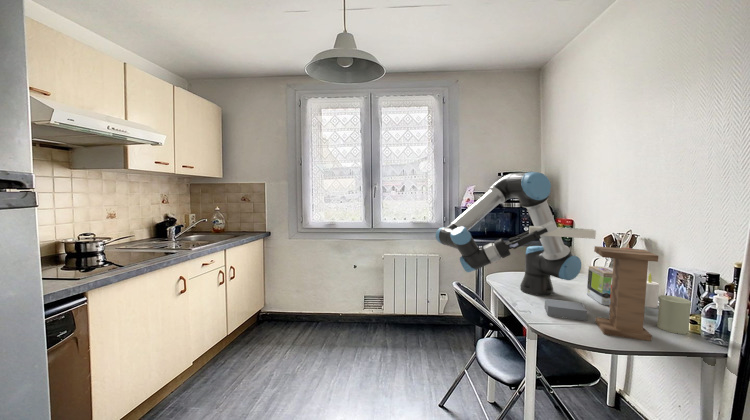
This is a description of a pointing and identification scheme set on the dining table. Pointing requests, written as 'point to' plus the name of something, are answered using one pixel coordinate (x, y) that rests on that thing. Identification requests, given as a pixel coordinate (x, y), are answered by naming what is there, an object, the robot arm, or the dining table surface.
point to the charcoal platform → (565, 309)
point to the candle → (651, 293)
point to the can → (674, 314)
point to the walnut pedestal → (627, 292)
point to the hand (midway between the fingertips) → (554, 224)
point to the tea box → (600, 284)
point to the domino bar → (568, 232)
